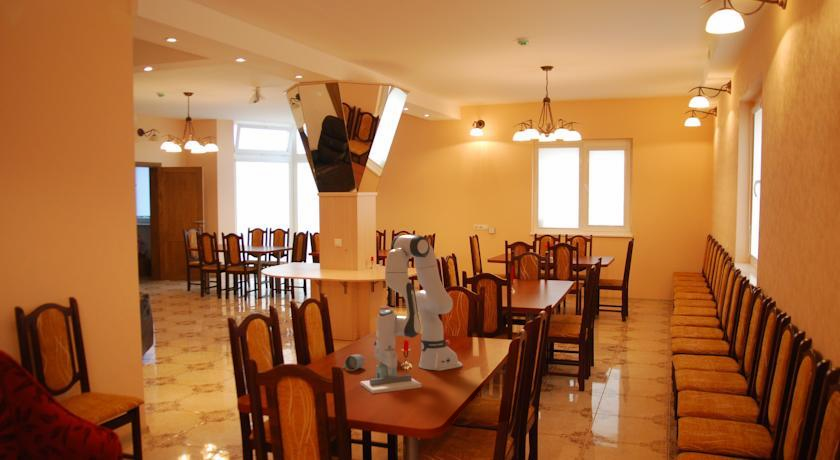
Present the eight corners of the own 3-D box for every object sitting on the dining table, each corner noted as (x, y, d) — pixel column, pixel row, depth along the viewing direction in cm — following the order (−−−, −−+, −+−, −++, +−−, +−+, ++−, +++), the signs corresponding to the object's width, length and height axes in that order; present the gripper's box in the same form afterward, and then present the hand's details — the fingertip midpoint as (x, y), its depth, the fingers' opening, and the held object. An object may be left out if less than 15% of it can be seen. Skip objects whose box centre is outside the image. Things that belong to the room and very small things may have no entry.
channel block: (391, 375, 332) (391, 363, 332) (396, 379, 326) (396, 366, 326) (376, 377, 329) (376, 365, 328) (381, 380, 323) (381, 368, 322)
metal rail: (409, 379, 319) (409, 374, 319) (411, 380, 317) (411, 375, 317) (369, 384, 311) (369, 379, 311) (371, 385, 309) (371, 380, 309)
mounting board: (407, 378, 326) (407, 375, 326) (421, 387, 312) (421, 383, 312) (360, 384, 316) (360, 381, 316) (372, 393, 302) (372, 390, 302)
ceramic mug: (365, 368, 347) (365, 353, 347) (357, 371, 340) (357, 356, 339) (347, 366, 352) (347, 351, 351) (339, 369, 344) (339, 354, 344)
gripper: (400, 348, 318) (400, 377, 319) (384, 339, 337) (384, 367, 338) (388, 349, 316) (388, 378, 316) (372, 340, 334) (372, 368, 335)
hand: (386, 372), depth 327 cm, fingers closed on channel block, 6 cm apart
